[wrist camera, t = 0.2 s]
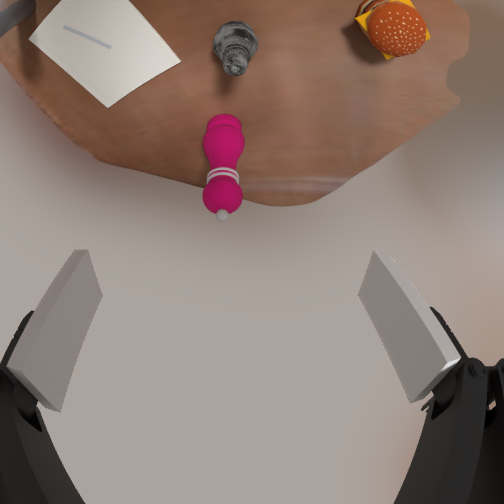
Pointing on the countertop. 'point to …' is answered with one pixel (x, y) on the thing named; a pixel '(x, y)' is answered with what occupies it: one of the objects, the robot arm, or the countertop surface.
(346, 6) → the countertop surface
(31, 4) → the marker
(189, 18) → the countertop surface
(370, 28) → the hamburger
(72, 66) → the paper
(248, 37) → the chess piece
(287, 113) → the countertop surface
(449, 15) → the countertop surface
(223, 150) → the pepper mill
